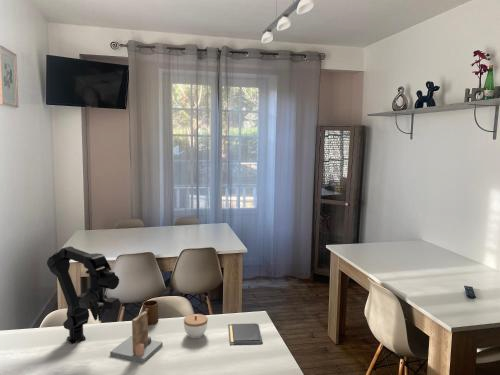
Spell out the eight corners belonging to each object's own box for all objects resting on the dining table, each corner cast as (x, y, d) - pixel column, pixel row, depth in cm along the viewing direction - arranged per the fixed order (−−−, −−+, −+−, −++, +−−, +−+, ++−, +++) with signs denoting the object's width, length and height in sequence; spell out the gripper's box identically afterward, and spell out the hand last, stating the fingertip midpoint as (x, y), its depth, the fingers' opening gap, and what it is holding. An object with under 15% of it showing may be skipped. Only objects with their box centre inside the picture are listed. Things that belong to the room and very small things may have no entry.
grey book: (263, 342, 169) (228, 342, 168) (263, 346, 169) (228, 346, 168) (259, 321, 189) (228, 321, 188) (259, 325, 189) (228, 325, 188)
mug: (152, 329, 181) (152, 310, 180) (137, 329, 182) (136, 309, 181) (160, 318, 193) (160, 300, 192) (145, 317, 194) (145, 299, 193)
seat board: (110, 355, 159) (110, 342, 158) (131, 339, 172) (130, 327, 172) (143, 362, 154) (143, 349, 153) (162, 345, 167) (162, 333, 167)
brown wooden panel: (144, 342, 165) (144, 311, 164) (147, 343, 165) (147, 311, 164) (132, 353, 157) (132, 320, 156) (135, 353, 157) (135, 320, 155)
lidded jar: (211, 336, 175) (211, 317, 174) (190, 343, 169) (190, 322, 168) (200, 327, 184) (200, 308, 183) (180, 333, 178) (179, 313, 177)
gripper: (64, 288, 157) (65, 325, 159) (102, 294, 151) (103, 332, 153) (83, 279, 168) (85, 314, 169) (120, 285, 162) (121, 320, 164)
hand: (97, 320), depth 164 cm, fingers closed
